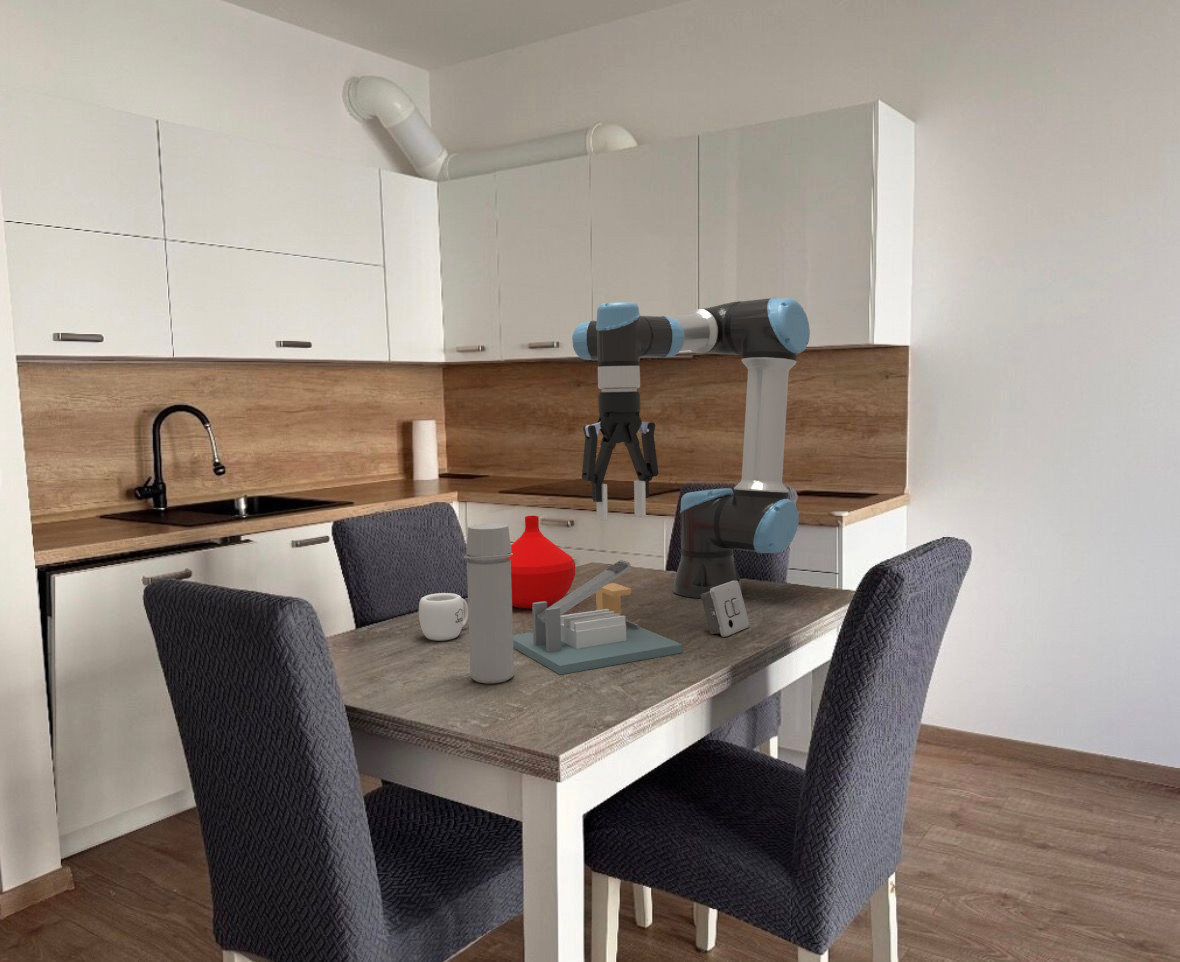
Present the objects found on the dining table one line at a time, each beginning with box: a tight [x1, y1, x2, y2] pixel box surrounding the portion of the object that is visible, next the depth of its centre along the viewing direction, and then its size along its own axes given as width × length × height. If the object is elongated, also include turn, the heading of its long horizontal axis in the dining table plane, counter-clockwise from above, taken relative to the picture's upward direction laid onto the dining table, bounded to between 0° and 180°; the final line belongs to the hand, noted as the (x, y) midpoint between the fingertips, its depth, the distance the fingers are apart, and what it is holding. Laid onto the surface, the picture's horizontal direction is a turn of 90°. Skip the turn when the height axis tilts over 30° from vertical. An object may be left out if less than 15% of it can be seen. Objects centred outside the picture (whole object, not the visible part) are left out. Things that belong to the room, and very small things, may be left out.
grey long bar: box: [537, 559, 632, 623], centre depth 171 cm, size 19×3×1 cm, turn 118°
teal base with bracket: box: [513, 601, 683, 675], centre depth 172 cm, size 24×22×9 cm
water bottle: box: [463, 522, 515, 685], centre depth 156 cm, size 9×8×25 cm
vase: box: [507, 515, 576, 610], centre depth 208 cm, size 18×18×19 cm
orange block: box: [595, 582, 632, 616], centre depth 181 cm, size 4×6×8 cm, turn 28°
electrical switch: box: [700, 581, 750, 638], centre depth 183 cm, size 9×5×9 cm, turn 141°
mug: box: [418, 592, 469, 642], centre depth 184 cm, size 12×8×8 cm
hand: (621, 517), depth 173 cm, fingers open, 7 cm apart
